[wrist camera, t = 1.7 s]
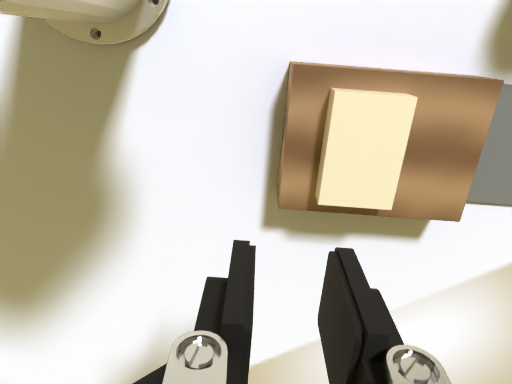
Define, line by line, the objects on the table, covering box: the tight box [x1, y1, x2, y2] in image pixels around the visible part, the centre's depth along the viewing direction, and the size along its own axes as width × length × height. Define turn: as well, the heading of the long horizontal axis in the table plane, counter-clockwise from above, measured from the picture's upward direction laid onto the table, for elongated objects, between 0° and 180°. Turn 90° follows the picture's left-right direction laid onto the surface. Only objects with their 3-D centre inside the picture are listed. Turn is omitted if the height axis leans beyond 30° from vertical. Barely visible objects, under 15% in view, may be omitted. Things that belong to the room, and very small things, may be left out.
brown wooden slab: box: [277, 61, 504, 222], centre depth 32 cm, size 12×16×4 cm
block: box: [315, 88, 418, 210], centre depth 29 cm, size 9×6×2 cm, turn 176°
